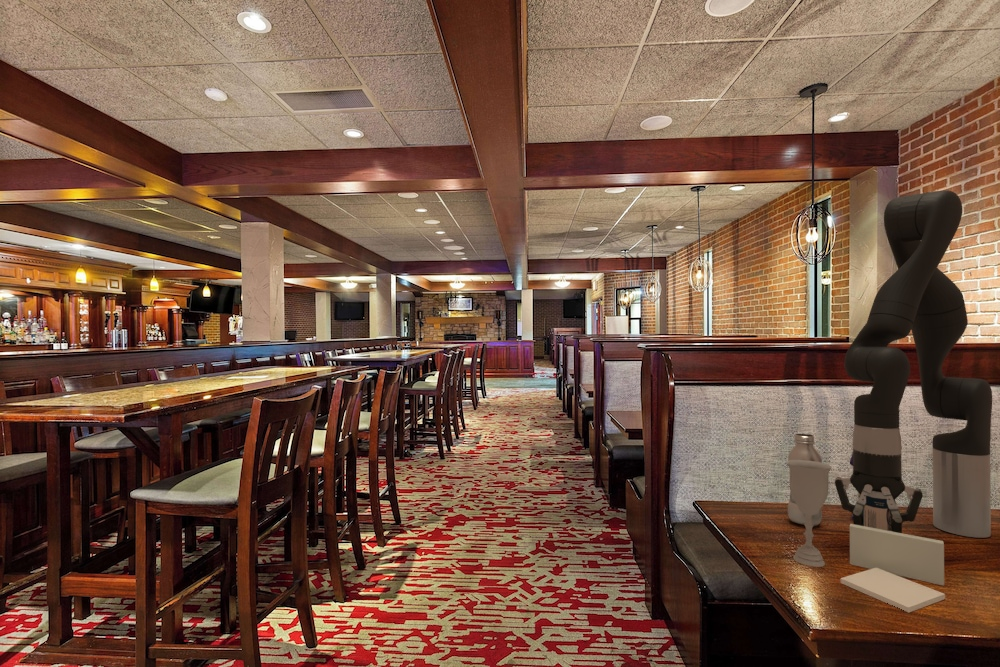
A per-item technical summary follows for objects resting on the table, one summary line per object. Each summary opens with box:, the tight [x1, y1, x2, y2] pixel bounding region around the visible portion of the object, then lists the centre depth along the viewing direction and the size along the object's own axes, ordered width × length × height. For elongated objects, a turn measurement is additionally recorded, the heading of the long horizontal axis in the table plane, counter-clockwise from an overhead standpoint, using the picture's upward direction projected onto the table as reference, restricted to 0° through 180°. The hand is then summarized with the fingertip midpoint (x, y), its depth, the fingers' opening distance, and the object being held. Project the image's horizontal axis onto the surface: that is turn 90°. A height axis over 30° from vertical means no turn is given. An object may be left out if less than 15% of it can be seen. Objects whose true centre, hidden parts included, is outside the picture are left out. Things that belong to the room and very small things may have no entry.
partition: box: [849, 523, 945, 587], centre depth 88 cm, size 13×2×7 cm, turn 52°
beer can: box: [862, 491, 893, 531], centre depth 96 cm, size 5×5×12 cm
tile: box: [840, 568, 946, 614], centre depth 82 cm, size 10×10×1 cm
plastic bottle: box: [787, 433, 823, 527], centre depth 111 cm, size 6×7×20 cm
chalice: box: [786, 460, 833, 568], centre depth 93 cm, size 7×7×18 cm
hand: (877, 536), depth 96 cm, fingers closed on beer can, 4 cm apart
